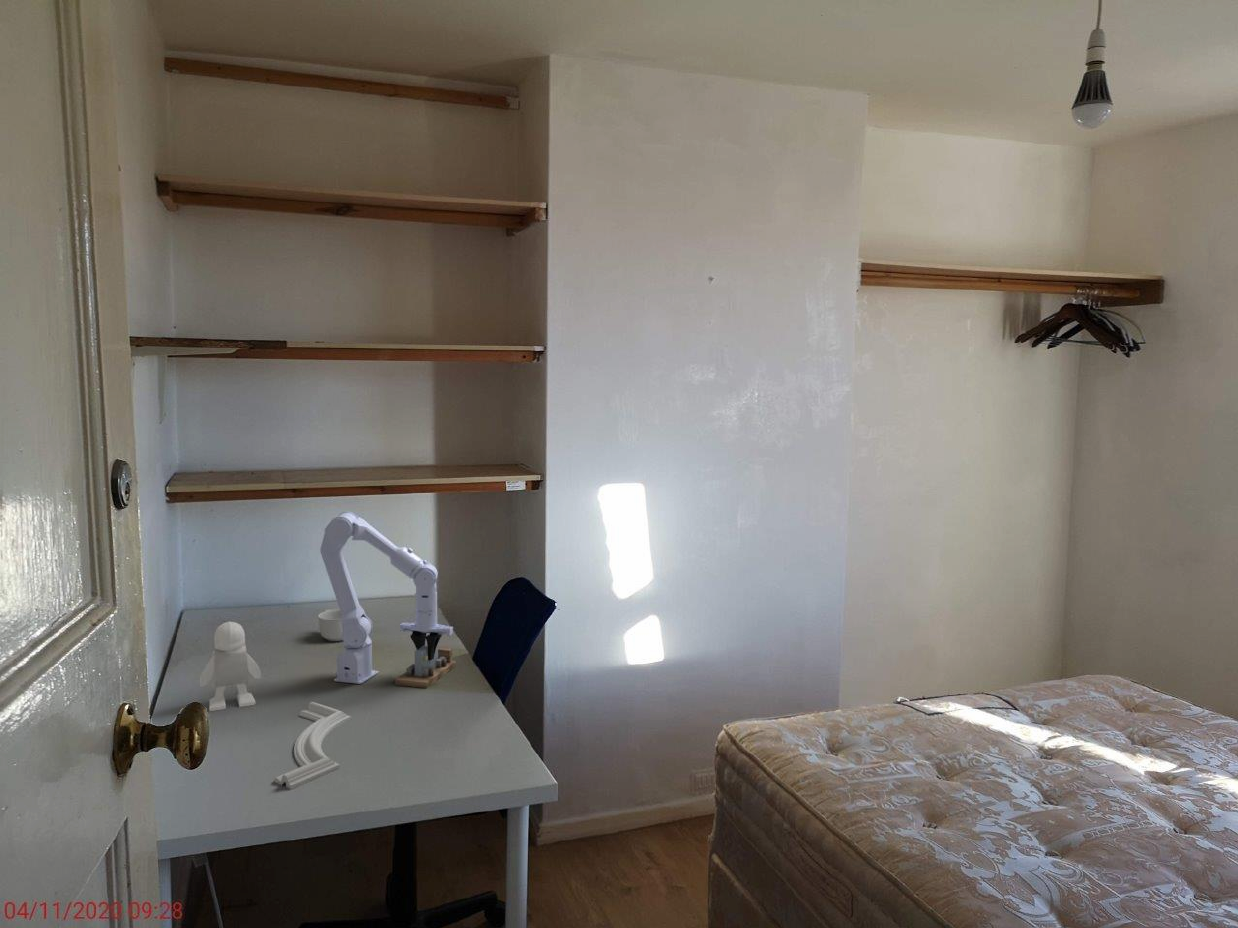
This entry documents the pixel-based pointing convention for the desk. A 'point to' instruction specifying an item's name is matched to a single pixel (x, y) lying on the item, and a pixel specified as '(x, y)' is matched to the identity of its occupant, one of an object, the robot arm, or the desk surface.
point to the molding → (313, 746)
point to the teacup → (331, 624)
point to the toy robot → (230, 666)
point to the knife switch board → (428, 671)
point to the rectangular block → (424, 659)
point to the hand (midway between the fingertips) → (426, 658)
